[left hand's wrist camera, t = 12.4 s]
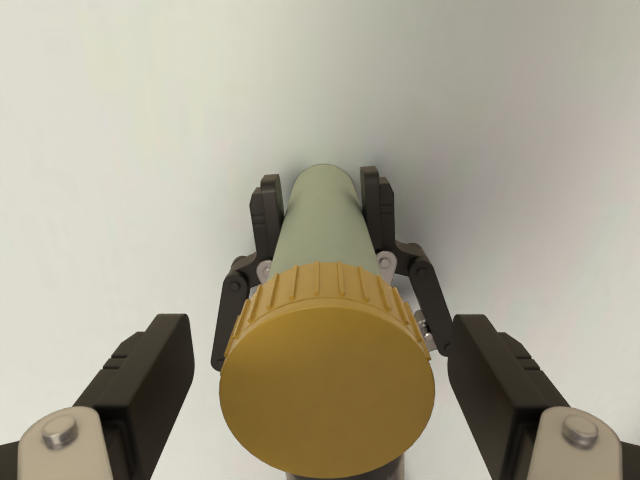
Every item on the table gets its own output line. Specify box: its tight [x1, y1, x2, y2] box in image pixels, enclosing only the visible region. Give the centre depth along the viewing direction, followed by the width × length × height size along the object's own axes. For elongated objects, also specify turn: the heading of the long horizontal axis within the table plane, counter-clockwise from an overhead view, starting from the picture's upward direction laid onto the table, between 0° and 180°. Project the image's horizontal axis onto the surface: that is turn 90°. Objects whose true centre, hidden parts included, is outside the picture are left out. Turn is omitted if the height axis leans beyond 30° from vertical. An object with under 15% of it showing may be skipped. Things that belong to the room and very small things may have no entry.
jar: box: [267, 164, 383, 281], centre depth 18 cm, size 4×4×18 cm
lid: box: [219, 261, 435, 478], centre depth 11 cm, size 5×5×2 cm
